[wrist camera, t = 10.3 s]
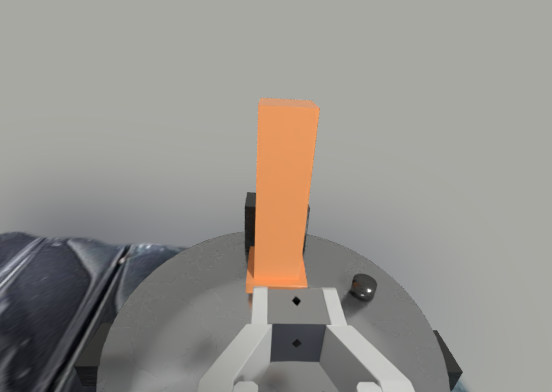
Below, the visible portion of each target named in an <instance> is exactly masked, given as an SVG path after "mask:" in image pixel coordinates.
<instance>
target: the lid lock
mask: <svg viewBox="0 0 552 392" xmlns="http://www.w3.org/2000/svg"><path fill="white" fill-rule="evenodd" d="M319 110H320V108H319V107H318V106H316V104H315V103H314V102H312V101H310V100H292V99H273V98H260V101H259V105H258V141H257V144H258V145H257V180H256V219H255V246H250V251H249V259H248V268H247V277H246V293H253V287H254V286H265V287H267V288H268V286H273V287H307V279H306V273H305V267H304V261H303V255H302V252H303V243H304V235H305V227H306V218H307V210H308V202H309V193H310V185H311V176H312V168H313V160H314V152H315V142H316V135H317V127H318V119H319Z"/></svg>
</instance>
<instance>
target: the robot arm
mask: <svg viewBox="0 0 552 392" xmlns="http://www.w3.org/2000/svg"><path fill="white" fill-rule="evenodd" d="M285 361H299V362H319V364H320V365H321V367H322V368H323V370H324V371H325V373H326V374H327V375H328V377H329V378H330V380H331V381H332V383H333V384H334V386H335V387H336V388H337V390H338V391H339V392H415V390H414V388H413V386H412V384H411V381H410V380H408V379H407V378H406V377H405V376H404V375H403V374H402V373H401V372H400V371H399V370H398V369H397V368H396V367H395V366H394V365H393V364H392V363H391V362H389V361H388V360H387V359H386V358H385V357H384V356H383V355H382V354H381V353H380V352H379V351H378V350H377V349H376V348H375V347H374V346H373V345H372V344H370V343H369V342H368V341H367V340H366V339H365V338H364V337H363V336H362V335H361V334H360V333H359V332H358V331H357V330H356V329H355V328H354V327H353V326H351V325H347V323H346V320H345V317H344V313H343V310H342V307H341V303H340V300H339V297H338V294H337V290H336V289H335V288H325V287H321V288H317V287H273V286H268V288H267V287H265V286H254V287H253V296H252V310H251V324H246V325H245V326H244V327H243V329H242V330H241V331H240V332H239V333H238V335H237V336H236V337H235V338H234V339H233V341H232V342H231V343H230V344H229V345H228V347H227V348H226V349H225V350H224V351H223V353H222V354H221V355H220V356H219V358H218V359H217V360H216V361H215V362H214V364H213V365H212V366H211V367H210V368H209V370H208V371H207V372H206V373H205V374H204V376H203V377H202V378H201V379H200V383H199V387H198V392H258V384H259V382H260V380H261V379H262V377H263V375H264V373H265V371H266V370H267V368H268V366H269V364H270V362H285Z"/></svg>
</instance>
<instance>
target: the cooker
mask: <svg viewBox="0 0 552 392" xmlns="http://www.w3.org/2000/svg"><path fill="white" fill-rule="evenodd" d="M309 212H310V208H309V204H308V210H307V218H306V227H305V235H304V243H303V252H302V255H303V261H304V267H305V273H306V279H307V287H317V288H321V287H325V288H335V289H336V290H337V294H338V297H339V300H340V303H341V307H342V310H343V313H344V317H345V320H346V323H347V325H351V326H353V327H354V328H355V329H356V330H357V331H358V332H359V333H360V334H361V335H362V336H363V337H364V338H365V339H366V340H367V341H368V342H369V343H370V344H372V345H373V346H374V347H375V348H376V349H377V350H378V351H379V352H380V353H381V354H382V355H383V356H384V357H385V358H386V359H387V360H388V361H389V362H391V363H392V364H393V365H394V366H395V367H396V368H397V369H398V370H399V371H400V372H401V373H402V374H403V375H404V376H405V377H406V378H407V379H408V380H410V381H411V384H412V386H413V388H414V390H415V392H450V391H452V390H453V388H454V386H455V385H456V383H457V381H458V379H459V378H460V376H461V374H462V373H463V372H462V370H461V369H460V367H459V365H458V364H457V362H456V360H455V359H454V357H453V356H452V354H451V352H450V351H449V349H448V348H447V346H446V344H445V343H444V341H443V339H442V338H441V336H440V335H439V333H438V331H437V330H432V328H431V326H430V324H429V323H428V321H427V319H426V318H425V316H424V315H423V313H422V311H421V310H420V308H419V307H418V306H417V304H416V303H415V302H414V300H413V299H412V298H411V297H410V296H409V294H408V293H407V292H406V291H405V290H404V289H403V288H402V287H401V286H400V285H399V284H398V283H397V282H396V281H395V280H394V279H393V278H392V277H391V276H390V275H389V274H387V273H386V272H385V271H384V270H382V269H381V268H380V267H379V266H377V265H376V264H374V263H373V262H371V261H370V260H368V259H367V258H365V257H363V256H362V255H360V254H358V253H356V252H355V251H353V250H351V249H349V248H346V247H344V246H342V245H340V244H337V243H335V242H332V241H329V240H326V239H323V238H319V237H316V236H313V235H308V234H307V228H308V220H309ZM255 219H256V193H250V192H248V193H247V198H246V203H245V231H244V232H237V233H232V234H227V235H223V236H219V237H216V238H213V239H209V240H207V241H204V242H202V243H199V244H197V245H194V246H192V247H190V248H188V249H186V250H184V251H182V252H180V253H179V254H177V255H175V256H174V257H172V258H170V259H169V260H167V261H166V262H165V263H163V264H162V265H161V266H159V267H158V268H157V269H155V270H154V271H153V272H152V273H151V274H150V275H149V276H148V277H147V278H145V279H144V280H143V281H142V282H141V283H140V285H139V286H138V287H137V288H136V289H135V290H134V291H133V293H132V294H131V295H130V296H129V298H128V299H127V301H126V302H125V304H124V305H123V306H122V308H121V309H120V311H119V313H118V315H117V316H116V318H115V320H114V322H113V323H102V324H101V325H100V327H99V328H98V330H97V332H96V333H95V335H94V336H93V338H92V339H91V341H90V342H89V344H88V345H87V347H86V349H85V350H84V352H83V353H82V355H81V356H80V358H79V359H78V361H77V362H76V364H75V366H74V367H75V369H76V371H77V374H78V376H79V378H80V381H81V383H82V385H83V386H97V389H96V392H198V387H199V383H200V379H201V378H202V377H203V376H204V374H205V373H206V372H207V371H208V370H209V368H210V367H211V366H212V365H213V364H214V362H215V361H216V360H217V359H218V358H219V356H220V355H221V354H222V353H223V351H224V350H225V349H226V348H227V347H228V345H229V344H230V343H231V342H232V341H233V339H234V338H235V337H236V336H237V335H238V333H239V332H240V331H241V330H242V329H243V327H244V326H245V325H246V324H251V310H252V296H253V293H246V277H247V268H248V259H249V251H250V246H255ZM258 392H339V391H338V390H337V388H336V387H335V386H334V384H333V383H332V381H331V380H330V378H329V377H328V375H327V374H326V373H325V371H324V370H323V368H322V367H321V365H320V364H319V362H299V361H285V362H270V364H269V366H268V368H267V370H266V371H265V373H264V375H263V377H262V379H261V380H260V382H259V384H258Z"/></svg>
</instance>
